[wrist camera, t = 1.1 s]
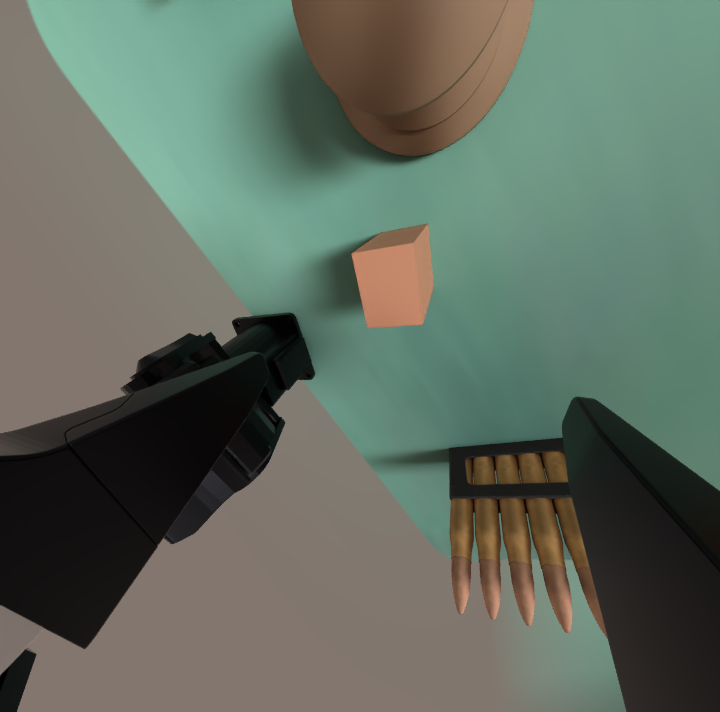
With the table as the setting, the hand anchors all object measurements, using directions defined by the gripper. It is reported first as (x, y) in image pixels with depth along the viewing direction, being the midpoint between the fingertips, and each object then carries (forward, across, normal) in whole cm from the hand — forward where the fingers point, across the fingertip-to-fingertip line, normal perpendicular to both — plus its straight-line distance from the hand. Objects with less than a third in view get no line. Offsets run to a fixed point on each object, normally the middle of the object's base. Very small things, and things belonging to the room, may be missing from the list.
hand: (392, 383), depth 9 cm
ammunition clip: (+13, -7, +16) cm, 22 cm away
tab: (+13, +2, 0) cm, 13 cm away
